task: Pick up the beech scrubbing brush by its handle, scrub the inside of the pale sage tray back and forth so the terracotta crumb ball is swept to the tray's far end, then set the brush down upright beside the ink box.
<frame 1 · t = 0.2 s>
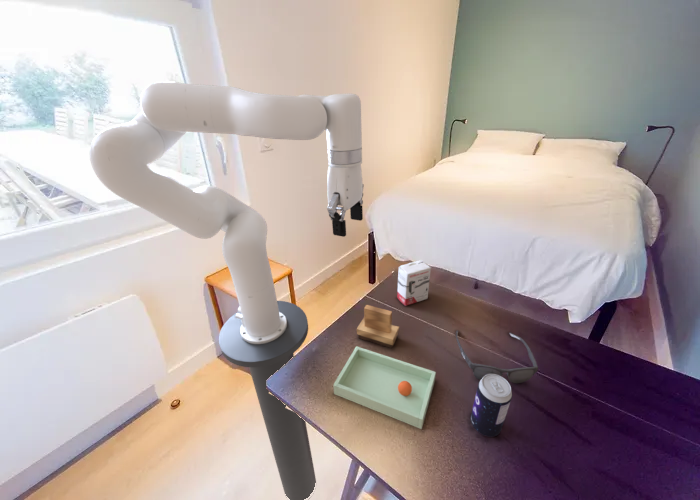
hand: (348, 227, 77), 29 cm above the table, tool pointing down, fingers open, 9 cm apart
crumb ball: (404, 388, 68), point 2 cm above the table, touching tray
beverage can: (484, 425, 62), on the table
brush: (377, 337, 84), on the table
sunglasses: (491, 356, 77), on the table
tray: (385, 387, 70), on the table
ink box: (412, 298, 98), on the table
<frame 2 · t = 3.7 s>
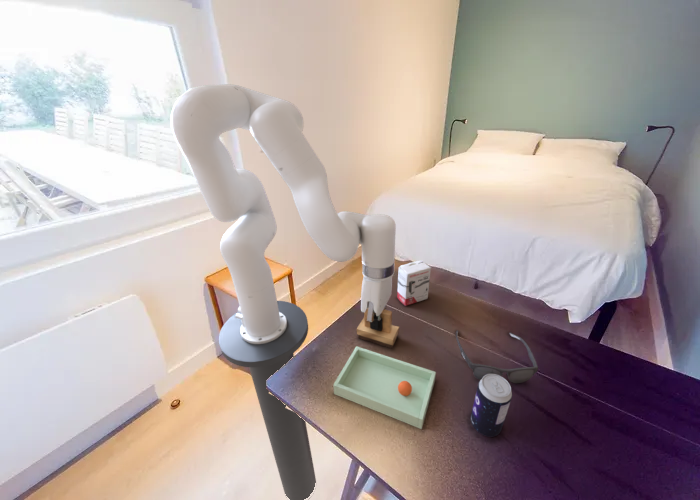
hand: (377, 326, 82), 4 cm above the table, tool pointing down, fingers closed on brush
brush: (377, 337, 84), on the table, touching gripper
everything else where it was.
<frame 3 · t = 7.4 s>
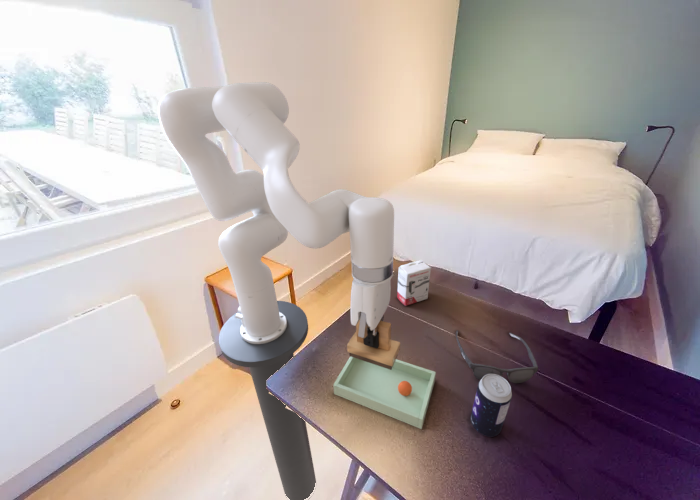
hand: (373, 341, 65), 13 cm above the table, tool pointing down, fingers closed on brush
brush: (373, 355, 67), point 9 cm above the table, touching gripper
everything else where it was.
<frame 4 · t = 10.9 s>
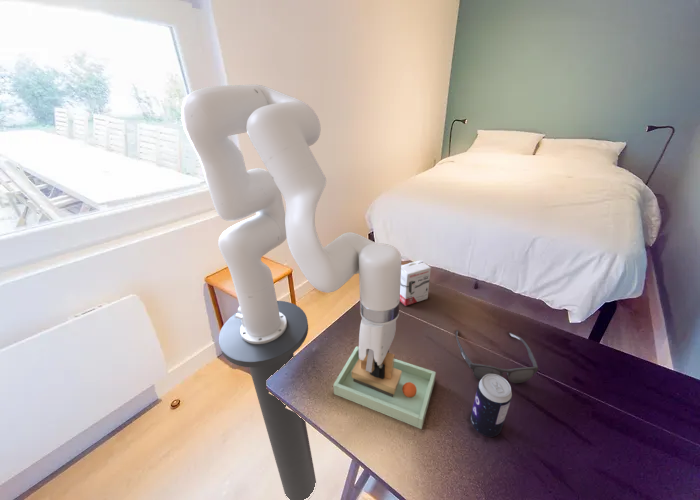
hand: (379, 371, 69), 5 cm above the table, tool pointing down, fingers closed on brush
crumb ball: (409, 389, 67), point 2 cm above the table, tilted 37°, touching tray
brush: (376, 381, 71), point 1 cm above the table, touching gripper
everything else where it was.
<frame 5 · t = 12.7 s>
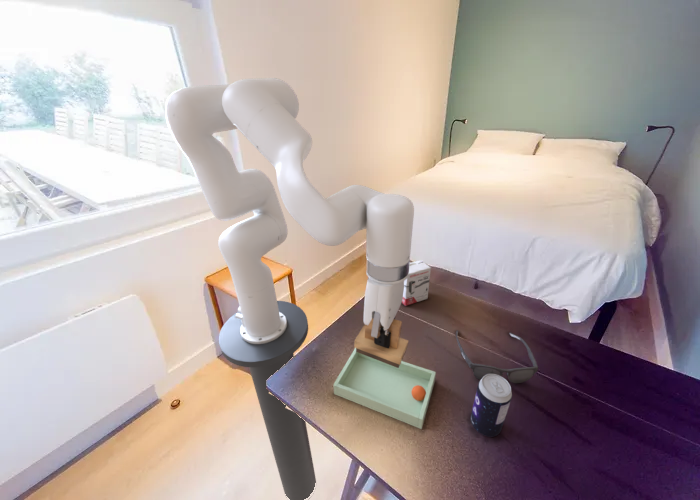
hand: (384, 340, 64), 14 cm above the table, tool pointing down, fingers closed on brush
crumb ball: (418, 393, 67), point 2 cm above the table, tilted 114°, touching tray
brush: (380, 352, 66), point 10 cm above the table, touching gripper
everything else where it was.
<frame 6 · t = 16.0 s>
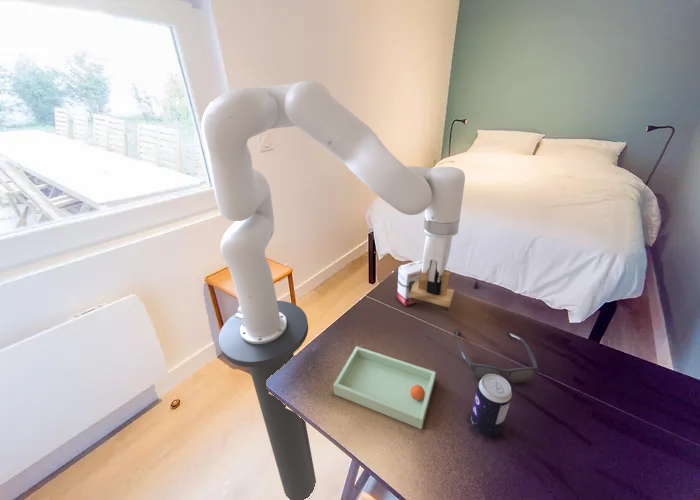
hand: (434, 290, 79), 14 cm above the table, tool pointing down, fingers closed on brush
crumb ball: (417, 392, 67), point 2 cm above the table, tilted 104°, touching tray
brush: (430, 301, 81), point 10 cm above the table, touching gripper
everything else where it was.
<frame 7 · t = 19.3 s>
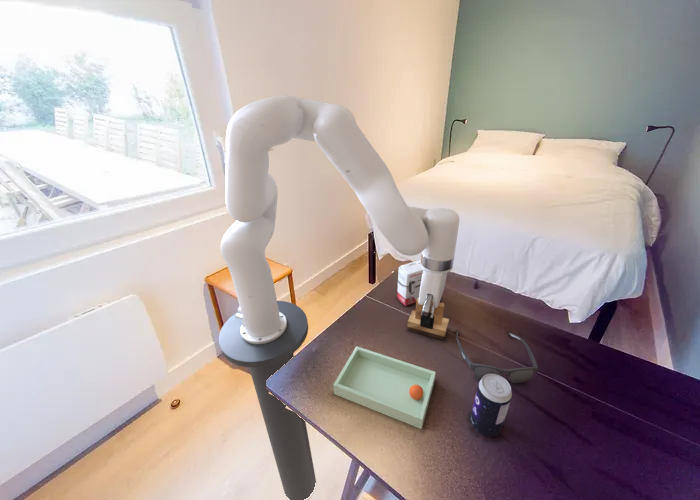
hand: (430, 315, 83), 5 cm above the table, tool pointing down, fingers open, 9 cm apart
crumb ball: (416, 392, 67), point 2 cm above the table, tilted 94°, touching tray
brush: (427, 329, 86), on the table
everything else where it was.
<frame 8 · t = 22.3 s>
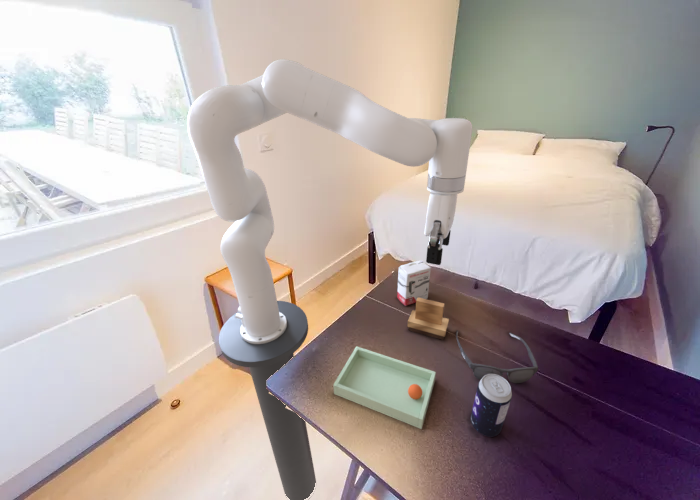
hand: (437, 253, 74), 24 cm above the table, tool pointing down, fingers open, 9 cm apart
crumb ball: (415, 391, 67), point 2 cm above the table, tilted 85°, touching tray
everything else where it was.
at the end: crumb ball inside the target area in the tray (0.2 cm from its centre), point 2.1 cm above the tray's base; brush 14.1 cm from the ink box (horizontally); brush tilted 0° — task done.
